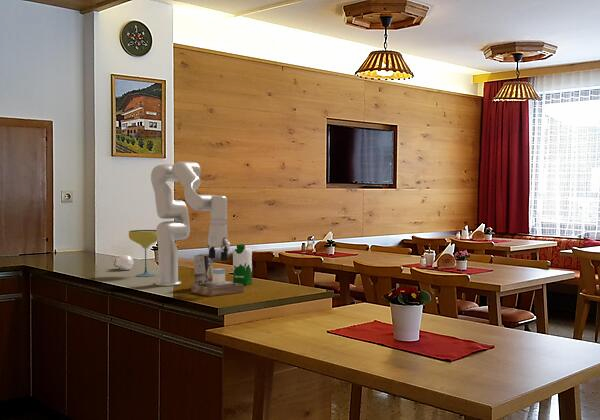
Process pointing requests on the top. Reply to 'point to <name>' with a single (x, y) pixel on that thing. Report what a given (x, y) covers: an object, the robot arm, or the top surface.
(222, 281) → the plug
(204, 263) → the coffee box
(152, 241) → the cocktail glass
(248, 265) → the milk carton
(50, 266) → the top surface
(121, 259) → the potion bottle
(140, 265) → the top surface
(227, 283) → the block
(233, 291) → the walled box
